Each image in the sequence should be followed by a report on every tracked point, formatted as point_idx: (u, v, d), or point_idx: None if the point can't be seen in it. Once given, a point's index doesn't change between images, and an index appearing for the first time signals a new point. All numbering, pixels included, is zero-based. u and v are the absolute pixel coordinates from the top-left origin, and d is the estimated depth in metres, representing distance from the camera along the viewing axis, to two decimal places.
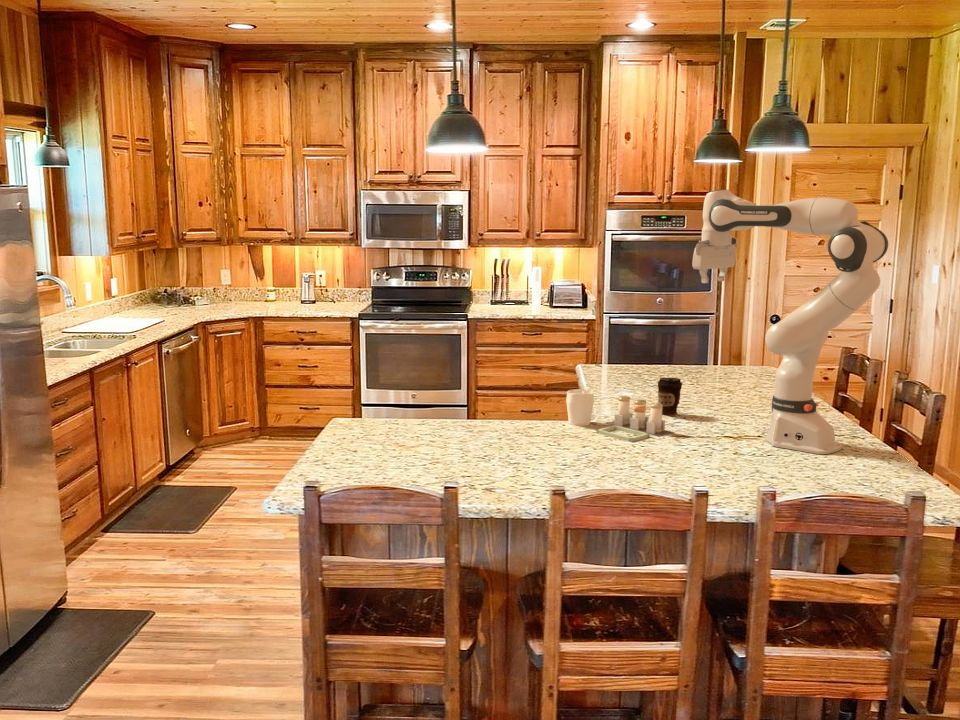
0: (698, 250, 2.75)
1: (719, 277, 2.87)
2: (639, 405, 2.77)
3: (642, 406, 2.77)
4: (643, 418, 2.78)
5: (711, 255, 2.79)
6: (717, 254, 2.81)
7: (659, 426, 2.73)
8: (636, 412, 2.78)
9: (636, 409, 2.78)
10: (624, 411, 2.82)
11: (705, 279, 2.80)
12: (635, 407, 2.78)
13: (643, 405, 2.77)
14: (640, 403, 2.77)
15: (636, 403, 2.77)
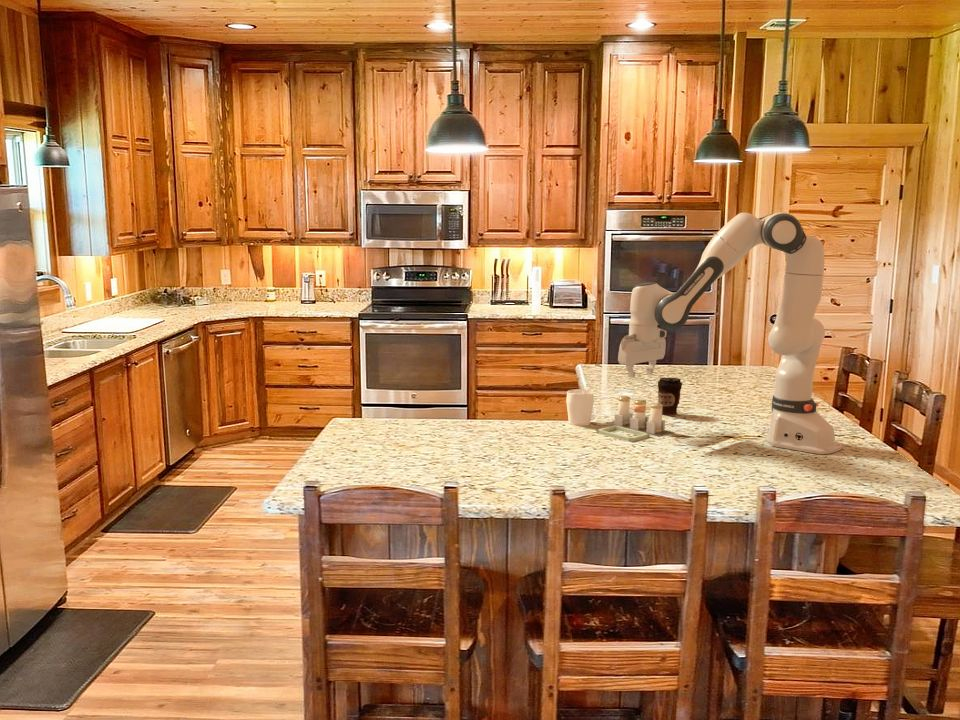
0: (623, 345, 2.68)
1: (648, 369, 2.79)
2: (639, 405, 2.77)
3: (642, 406, 2.77)
4: (643, 418, 2.78)
5: (638, 349, 2.71)
6: (644, 348, 2.74)
7: (659, 426, 2.73)
8: (636, 412, 2.78)
9: (636, 409, 2.78)
10: (624, 411, 2.82)
11: (631, 374, 2.73)
12: (635, 407, 2.78)
13: (643, 405, 2.77)
14: (640, 403, 2.77)
15: (636, 403, 2.77)
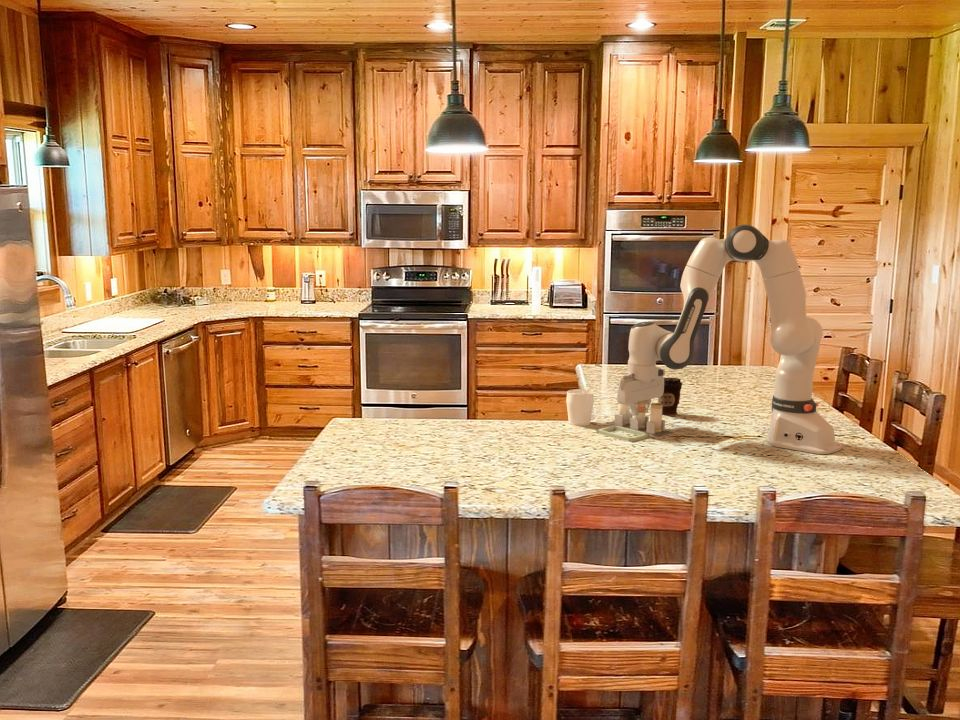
0: (622, 385, 2.70)
1: None
2: (639, 405, 2.77)
3: (642, 406, 2.77)
4: (643, 418, 2.78)
5: (636, 389, 2.74)
6: (643, 387, 2.76)
7: (659, 426, 2.73)
8: None
9: None
10: (624, 411, 2.82)
11: (635, 412, 2.76)
12: None
13: (643, 405, 2.77)
14: (640, 403, 2.77)
15: None
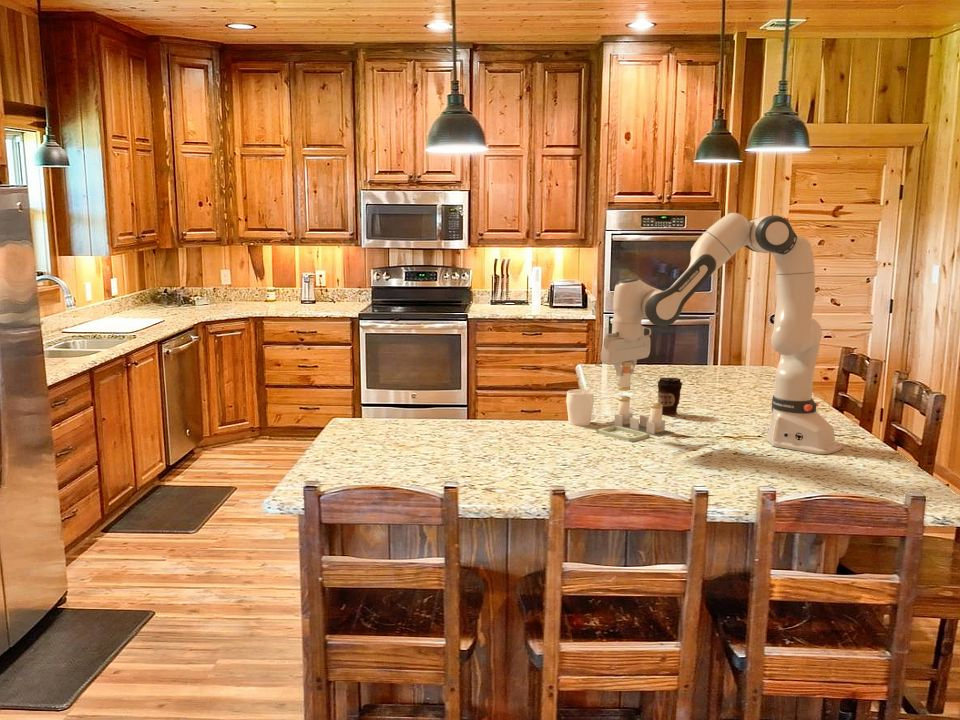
0: (606, 344, 2.59)
1: None
2: (624, 365, 2.65)
3: (627, 366, 2.66)
4: (628, 379, 2.67)
5: (621, 348, 2.62)
6: (628, 346, 2.65)
7: (659, 426, 2.73)
8: None
9: None
10: (624, 411, 2.82)
11: (619, 372, 2.65)
12: None
13: (628, 365, 2.66)
14: (625, 363, 2.65)
15: None
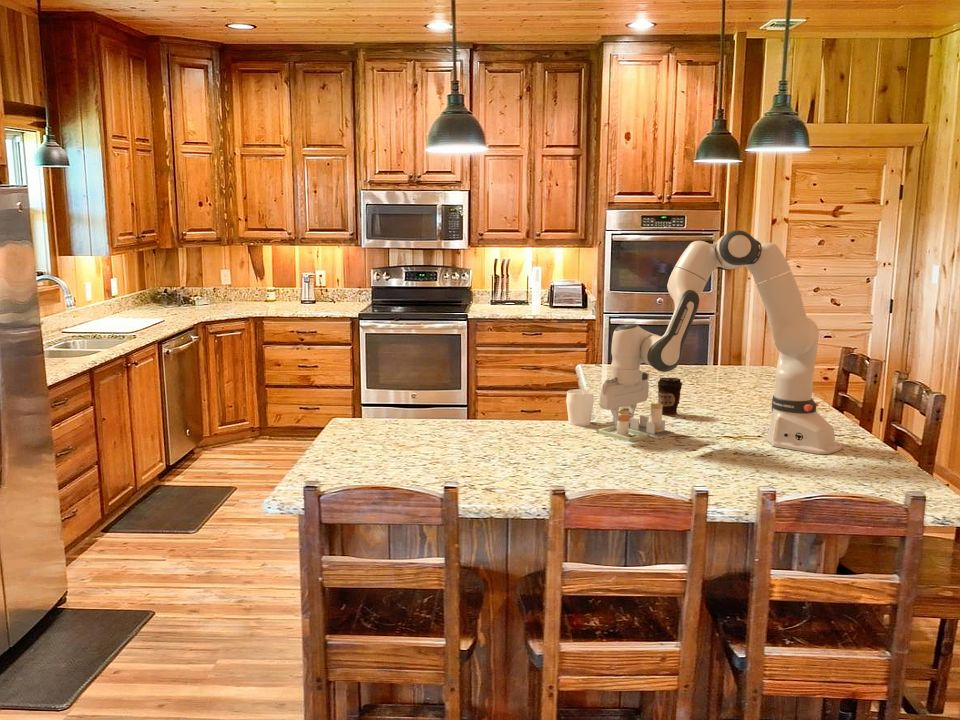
0: (605, 390, 2.62)
1: None
2: (622, 414, 2.68)
3: (625, 415, 2.68)
4: (626, 427, 2.69)
5: (619, 393, 2.65)
6: (626, 391, 2.67)
7: (659, 426, 2.73)
8: None
9: None
10: None
11: (616, 417, 2.67)
12: None
13: (626, 414, 2.68)
14: (623, 412, 2.68)
15: (619, 412, 2.69)
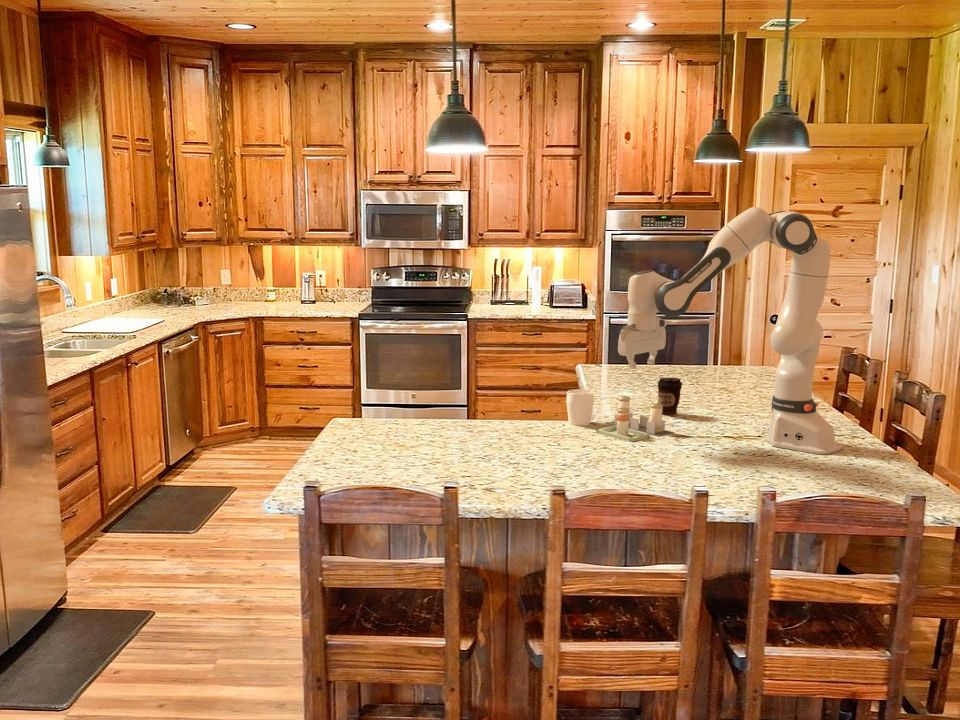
0: (623, 336, 2.61)
1: (649, 360, 2.72)
2: (622, 414, 2.68)
3: (625, 415, 2.68)
4: (626, 427, 2.69)
5: (638, 340, 2.64)
6: (644, 338, 2.67)
7: (659, 426, 2.73)
8: (619, 420, 2.69)
9: (619, 418, 2.69)
10: None
11: (632, 365, 2.65)
12: (618, 416, 2.69)
13: (626, 413, 2.68)
14: (623, 411, 2.68)
15: (619, 411, 2.69)
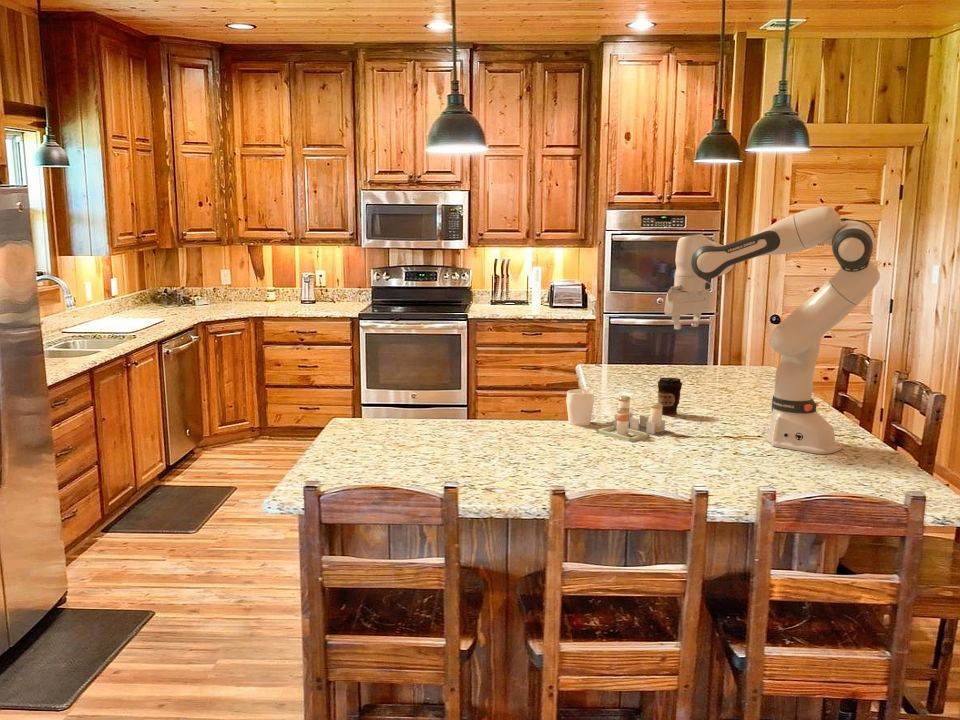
0: (670, 296, 2.67)
1: (693, 322, 2.79)
2: (622, 414, 2.68)
3: (625, 415, 2.68)
4: (626, 427, 2.69)
5: (684, 301, 2.71)
6: (690, 299, 2.73)
7: (659, 426, 2.73)
8: (619, 420, 2.69)
9: (619, 418, 2.69)
10: None
11: (678, 325, 2.72)
12: (618, 416, 2.69)
13: (626, 414, 2.68)
14: (623, 412, 2.68)
15: (619, 412, 2.69)
